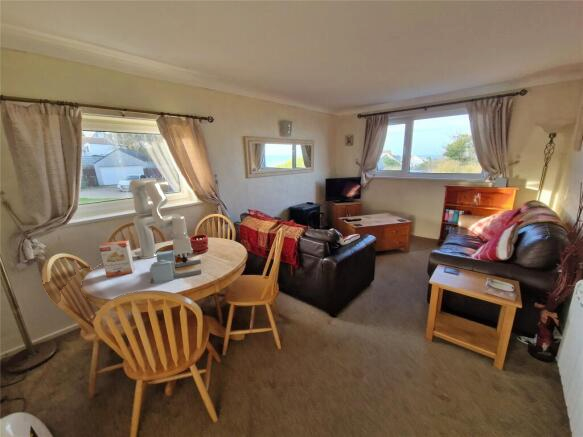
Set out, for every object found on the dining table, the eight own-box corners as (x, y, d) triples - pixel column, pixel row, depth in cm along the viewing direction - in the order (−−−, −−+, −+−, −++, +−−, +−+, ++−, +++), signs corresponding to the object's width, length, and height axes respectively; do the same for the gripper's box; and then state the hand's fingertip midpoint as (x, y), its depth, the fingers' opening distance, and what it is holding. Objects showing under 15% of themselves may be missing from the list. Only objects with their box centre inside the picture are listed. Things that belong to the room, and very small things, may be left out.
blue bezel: (154, 283, 136) (150, 265, 133) (159, 268, 155) (156, 252, 152) (173, 280, 140) (170, 262, 137) (175, 265, 158) (173, 250, 155)
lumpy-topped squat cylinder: (153, 273, 149) (151, 260, 147) (176, 269, 153) (174, 257, 151) (150, 280, 140) (148, 267, 137) (174, 276, 144) (172, 263, 142)
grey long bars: (150, 283, 137) (150, 279, 136) (155, 270, 153) (154, 266, 152) (201, 273, 147) (201, 270, 146) (200, 262, 163) (200, 259, 162)
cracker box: (106, 277, 145) (98, 246, 139) (110, 273, 150) (102, 242, 145) (132, 273, 149) (125, 242, 144) (135, 269, 154) (128, 239, 149)
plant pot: (197, 247, 189) (195, 233, 186) (212, 248, 187) (210, 234, 183) (187, 254, 177) (185, 239, 174) (203, 255, 174) (201, 240, 171)
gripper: (166, 239, 139) (171, 267, 144) (193, 235, 144) (197, 262, 149) (168, 235, 146) (172, 262, 151) (193, 232, 151) (197, 258, 156)
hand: (184, 262), depth 150 cm, fingers closed
